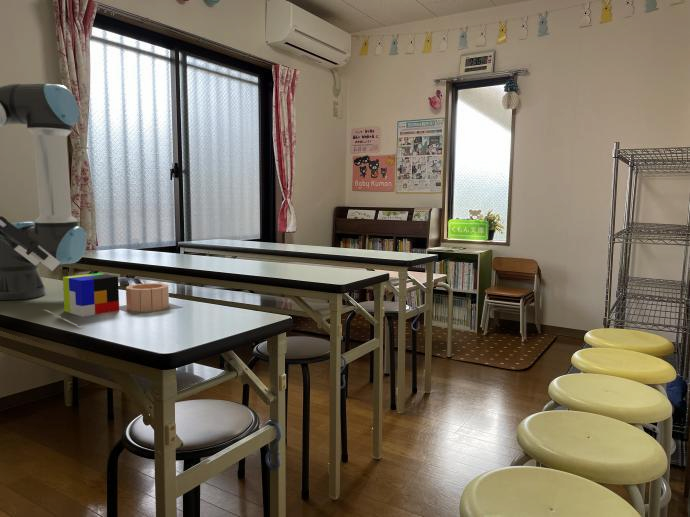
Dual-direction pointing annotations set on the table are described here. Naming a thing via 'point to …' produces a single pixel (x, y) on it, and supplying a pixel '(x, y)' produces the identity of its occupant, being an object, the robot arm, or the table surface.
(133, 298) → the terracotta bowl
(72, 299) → the puzzle toy
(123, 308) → the rubber mat
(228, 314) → the table surface
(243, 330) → the table surface
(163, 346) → the table surface
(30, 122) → the robot arm
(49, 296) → the table surface
